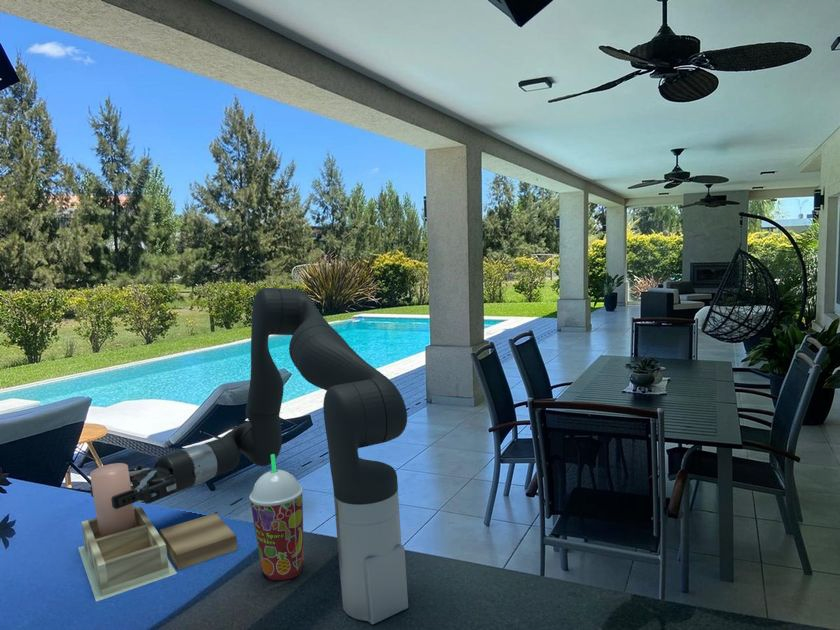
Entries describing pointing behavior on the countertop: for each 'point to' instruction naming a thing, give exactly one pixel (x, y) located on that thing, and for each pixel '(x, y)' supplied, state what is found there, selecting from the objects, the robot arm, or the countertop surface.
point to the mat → (99, 596)
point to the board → (198, 540)
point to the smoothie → (278, 523)
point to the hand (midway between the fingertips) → (101, 497)
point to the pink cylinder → (106, 486)
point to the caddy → (125, 554)
